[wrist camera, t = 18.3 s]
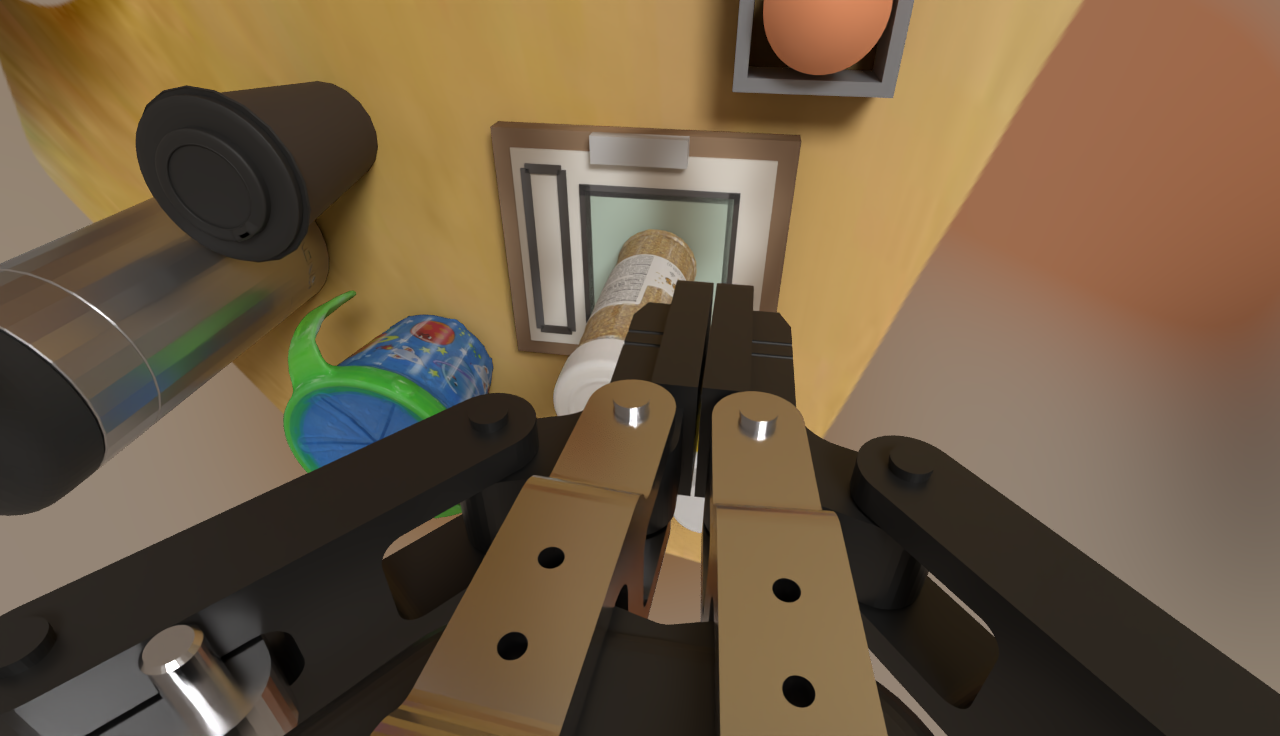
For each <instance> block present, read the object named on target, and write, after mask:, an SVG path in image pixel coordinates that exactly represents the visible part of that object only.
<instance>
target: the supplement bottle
mask: <svg viewBox="0 0 1280 736" xmlns="http://www.w3.org/2000/svg"><path fill="white" fill-rule="evenodd" d="M698 440H699V436H698ZM697 453H698V443H697V451H696V458H695V466H694V473H693V481H692V488H691V496H684V495H677V502H676V508H675V512H674V517H675V519H676V520H677V521H678V522H679V523H680V524H681V525H682V526H684V527H685V528H687V529H689V530H691V531H694V532H698V533H702V524H703V512H704V501H705V498H702V497H694V494H695V481H696V467H697Z"/></svg>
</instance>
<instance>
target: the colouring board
mask: <svg viewBox="0 0 1280 736" xmlns="http://www.w3.org/2000/svg"><path fill="white" fill-rule="evenodd" d="M490 128H491V136H492V144H493V152H494V160H495V168H496V176H497V184H498V192H499V200H500V207H501V215H502V223H503V231H504V239H505V247H506V255H507V263H508V271H509V279H510V287H511V295H512V303H513V311H514V319H515V326H516V334H517V342H518V350H519V351H530V352H540V353H550V354H561V355H571V354H572V353H573V352H574V351H575V350H576V348H577V347H578V345H579V342H580V340H581V338H582V336H583V334H584V330H585V327H586V324H587V322H588V320H589V318H590V316H591V314H592V311H593V309H594V307H595V305H596V303H597V301H598V299H599V296H600V294H601V292H602V290H603V288H604V286H605V284H606V282H607V279H608V277H609V275H610V273H611V272H612V270H613V269H614V268H615V266H616V264H617V261H618V256H619V253H620V251H621V249H622V247H623V245H624V243H625V242H626V241H627V240H628V239H629V238H630V237H631V236H633V235H635V234H637V233H639V232H642V231H645V230H648V229H658V230H664V231H667V232H671V233H673V234H675V235H676V236H678V237H680V238H682V239H683V240H684V242H685V243H686V244H687V245H688V246H689V248H690V249H691V250H692V252H693V254H694V257H695V260H696V268H697V273H696V277H695V280H694V281H698V282H711V283H714V291H713V304H712V315H713V308H714V300H715V293H716V286H717V283H725V284H738V285H751V286H754V301H753V311H764V312H777V305H778V298H779V292H780V285H781V278H782V271H783V264H784V257H785V250H786V243H787V236H788V230H789V223H790V216H791V209H792V202H793V195H794V188H795V181H796V174H797V167H798V161H799V154H800V147H801V137H800V135H784V134H762V133H741V132H719V131H697V130H675V129H654V128H632V127H610V126H589V125H567V124H545V123H523V122H502V121H498V122H497V123H495V124H494V125H492V126H491V127H490ZM711 322H712V317H711Z"/></svg>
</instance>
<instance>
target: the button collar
mask: <svg viewBox="0 0 1280 736" xmlns="http://www.w3.org/2000/svg"><path fill="white" fill-rule="evenodd" d="M913 3H914V0H893V3H892V9H891V13H890V17H889V20H888V22H887V25H886V27H885V29H884V31H883V33H882V35H881V37H880V38H879V40H878V44H877V50H876V55H875V60H874V65H873V70H842V71H839V72H836V73H832V74H826V75H811V74H806V73H802V72H799V71H797V70H794V69H793V68H780V67H749V58H750V47H751V36H752V25H753V15H754V4H755V0H740V5H739V17H738V30H737V42H736V54H735V67H734V79H733V91H732V92H746V93H773V94H799V95H826V96H853V97H879V98H893V96H894V91H895V86H896V82H897V77H898V72H899V68H900V63H901V59H902V54H903V49H904V45H905V40H906V36H907V31H908V26H909V22H910V17H911V13H912V8H913Z"/></svg>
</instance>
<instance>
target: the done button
mask: <svg viewBox="0 0 1280 736" xmlns="http://www.w3.org/2000/svg"><path fill="white" fill-rule="evenodd" d="M892 3H893V0H764V7H763V20H764V27H765V32H766V36H767V38H768V41H769V43H770V45H771V47H772V49H773V50H774V52H775V53H776V55H777V56H778V57H779V58H780V59H781V60H782V61H783V62H784V63H785V64H786V65H788V66H789V67H791V68H793V69H794V70H797V71H799V72H802V73H806V74H811V75H826V74H832V73H836V72H839V71H842V70H844V69H846V68H848V67H850V66H852V65H853V64H855V63H857V62H858V61H859V60H860V59H862V58H863V57H864V56H865V55H866V54H867V53H868V52H869V51H870V50H871V49H872V48H873V47H874V45H875V44H876V43H877V41H878V40H879V38H880V37H881V35H882V33H883V31H884V29H885V27H886V25H887V22H888V20H889V17H890V13H891V9H892Z"/></svg>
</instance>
